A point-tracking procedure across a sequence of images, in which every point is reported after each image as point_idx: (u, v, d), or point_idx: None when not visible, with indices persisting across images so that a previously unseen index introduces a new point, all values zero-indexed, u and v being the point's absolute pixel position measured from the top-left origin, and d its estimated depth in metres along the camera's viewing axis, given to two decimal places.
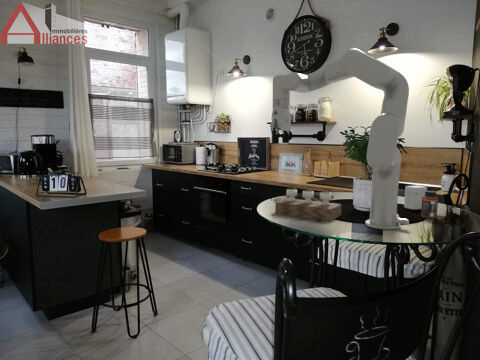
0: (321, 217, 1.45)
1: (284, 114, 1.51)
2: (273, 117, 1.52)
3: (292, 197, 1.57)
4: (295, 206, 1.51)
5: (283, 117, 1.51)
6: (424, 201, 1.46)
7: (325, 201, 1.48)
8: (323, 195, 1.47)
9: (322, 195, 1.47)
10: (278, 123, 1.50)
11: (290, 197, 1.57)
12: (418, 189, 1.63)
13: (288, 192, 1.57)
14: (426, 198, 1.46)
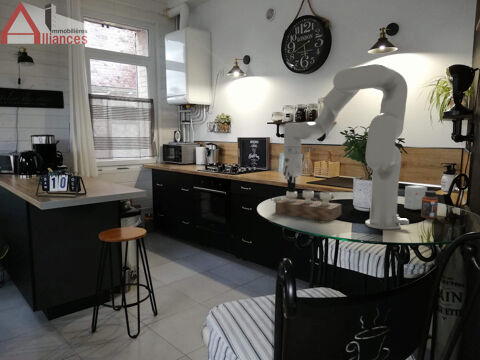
0: (321, 217, 1.45)
1: (295, 161, 1.53)
2: (284, 164, 1.53)
3: (292, 199, 1.57)
4: (295, 206, 1.51)
5: (294, 164, 1.53)
6: (424, 201, 1.46)
7: (325, 201, 1.48)
8: (323, 195, 1.47)
9: (322, 195, 1.47)
10: (289, 170, 1.52)
11: (290, 199, 1.58)
12: (418, 189, 1.63)
13: (288, 194, 1.57)
14: (426, 198, 1.46)
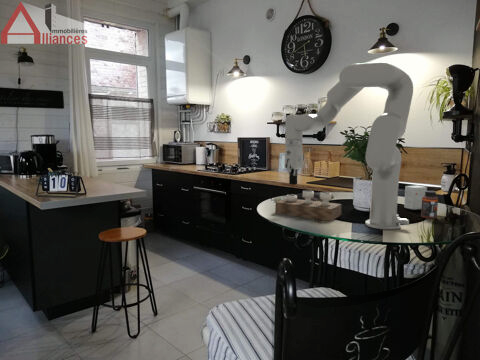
0: (321, 217, 1.45)
1: (297, 153, 1.52)
2: (286, 157, 1.52)
3: None
4: (295, 206, 1.51)
5: (296, 157, 1.52)
6: (424, 201, 1.46)
7: (325, 201, 1.48)
8: (323, 195, 1.47)
9: (322, 195, 1.47)
10: (291, 163, 1.51)
11: None
12: (418, 189, 1.63)
13: (288, 198, 1.57)
14: (426, 198, 1.46)
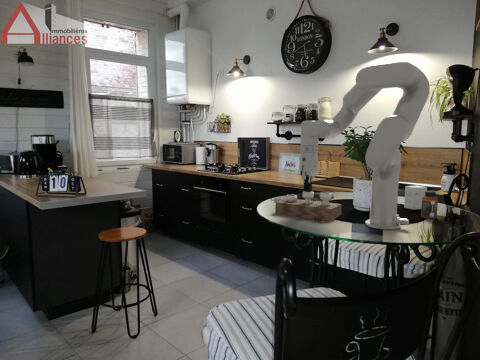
0: (321, 217, 1.45)
1: (312, 160, 1.48)
2: (301, 163, 1.49)
3: None
4: (295, 206, 1.51)
5: (312, 163, 1.48)
6: (424, 201, 1.46)
7: (325, 201, 1.48)
8: (323, 195, 1.47)
9: (322, 195, 1.47)
10: (307, 170, 1.47)
11: None
12: (418, 189, 1.63)
13: (288, 198, 1.57)
14: (426, 198, 1.46)
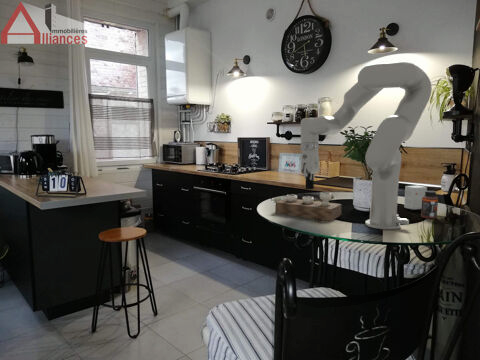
0: (321, 217, 1.45)
1: (313, 157, 1.48)
2: (302, 161, 1.48)
3: None
4: (295, 206, 1.51)
5: (313, 161, 1.48)
6: (424, 201, 1.46)
7: (325, 201, 1.48)
8: (323, 195, 1.47)
9: (322, 195, 1.47)
10: (308, 167, 1.47)
11: None
12: (418, 189, 1.63)
13: (288, 198, 1.57)
14: (426, 198, 1.46)
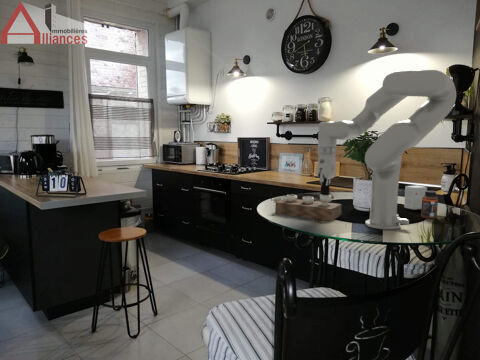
0: (321, 217, 1.45)
1: (330, 162, 1.44)
2: (319, 165, 1.44)
3: None
4: (295, 206, 1.51)
5: (330, 166, 1.44)
6: (424, 201, 1.46)
7: (325, 203, 1.48)
8: (323, 197, 1.47)
9: (322, 197, 1.48)
10: (325, 172, 1.43)
11: None
12: (418, 189, 1.63)
13: (288, 198, 1.57)
14: (426, 198, 1.46)
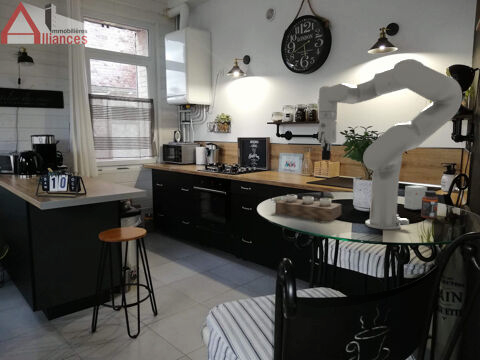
0: (321, 217, 1.45)
1: (331, 127, 1.44)
2: (320, 130, 1.44)
3: None
4: (295, 206, 1.51)
5: (331, 130, 1.44)
6: (424, 201, 1.46)
7: None
8: (323, 201, 1.48)
9: (322, 201, 1.48)
10: (326, 136, 1.43)
11: None
12: (418, 189, 1.63)
13: (288, 198, 1.57)
14: (426, 198, 1.46)
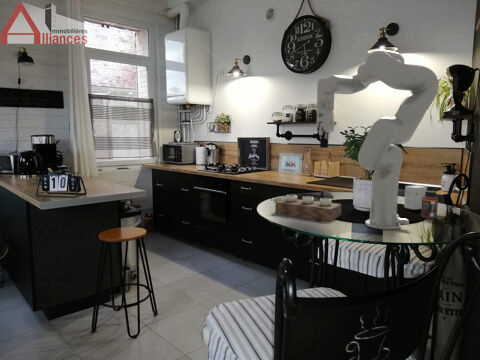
0: (321, 217, 1.45)
1: (329, 116, 1.55)
2: (318, 119, 1.55)
3: None
4: (295, 206, 1.51)
5: (328, 119, 1.54)
6: (424, 201, 1.46)
7: None
8: (323, 201, 1.48)
9: (322, 201, 1.48)
10: (323, 125, 1.53)
11: None
12: (418, 189, 1.63)
13: (288, 198, 1.57)
14: (426, 198, 1.46)
